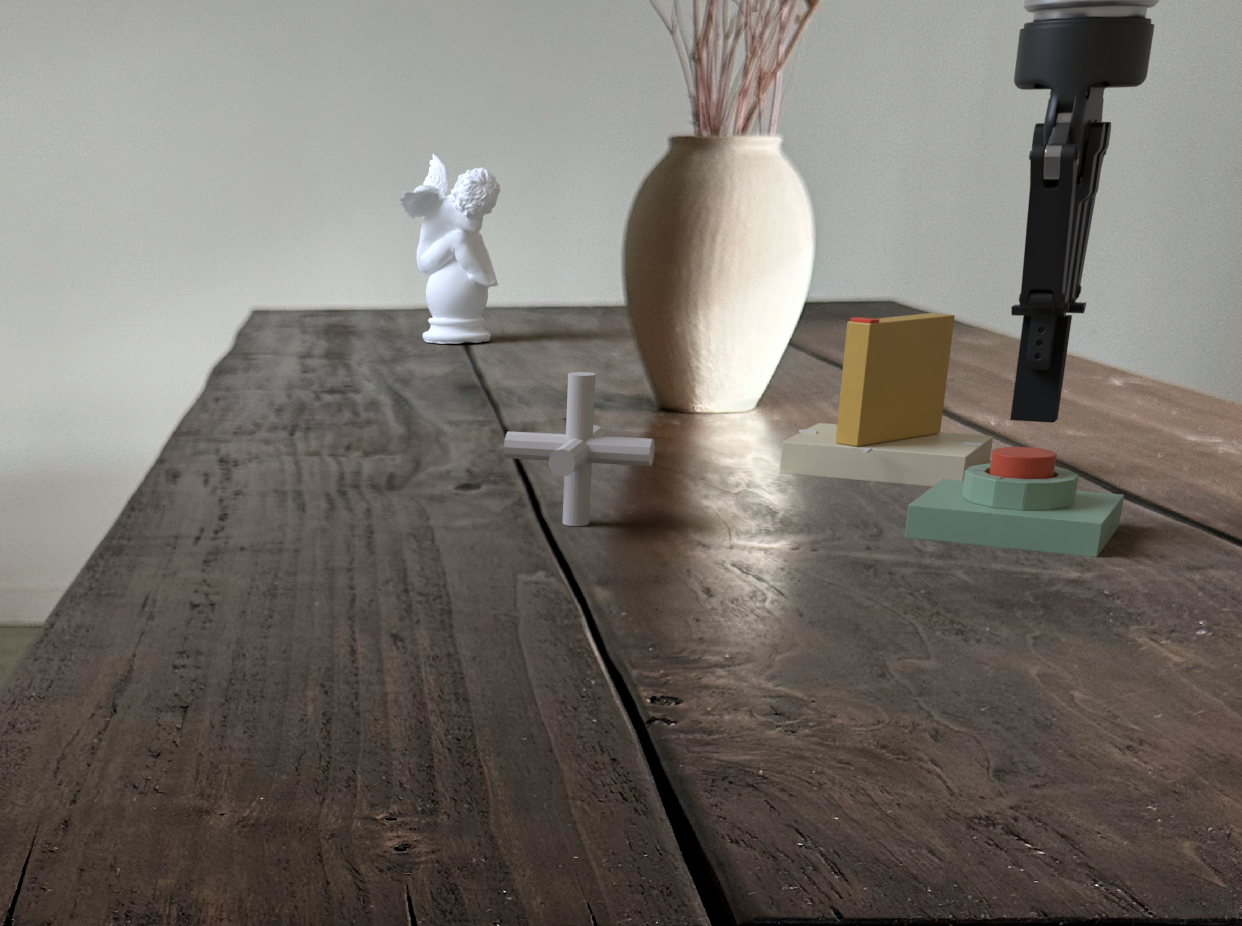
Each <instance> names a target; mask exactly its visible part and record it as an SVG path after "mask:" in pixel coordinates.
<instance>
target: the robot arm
mask: <svg viewBox="0 0 1242 926" xmlns="http://www.w3.org/2000/svg"><path fill="white" fill-rule="evenodd" d="M1159 2H1160V0H1024V1H1023V9H1024V10H1025V11H1026V12H1027V13H1033V15H1032V17H1033V18H1032V21H1029V22H1024V24H1023V28H1019V34H1018V41H1017V42H1018V43H1017V49H1016V50H1017V52H1016V59H1015V67H1014V68H1015V69H1014V77H1013V83H1014V85H1015V87H1016V88H1018V89H1020V90H1023V91H1024V90H1025V91H1026V90H1027V91H1031V90H1032V91H1035V90H1036V91H1037V90H1039V91H1040V90H1050V92H1049V94H1050V95H1049V99H1048V101H1047V107H1046V111H1045V117H1044V122H1036V123H1035V125H1034V129H1033V135H1032V142H1031V150H1030V151H1029V155H1028V159H1029V161H1030V163H1029V164H1030V165H1029V168H1030V170H1029V195H1028V205H1027V206H1028V207H1027V216H1026V217H1027V219H1026V228H1025V229H1026V230H1025V241H1024V250H1023V251H1024V254H1023V265H1022V277H1021V287H1020V293H1019V295H1018V302H1019V304H1014V305H1012V306H1011V309H1010V311H1011V312H1010V313H1011V316H1017V317H1018V316H1019V317H1020V316H1021V317H1023V318H1022V325H1021V333H1020V341H1019V349H1018V356H1017V363H1016V372H1015V379H1014V387H1013V394H1012V401H1011V403H1012V404H1011V411H1010V418H1009V421H1018V422H1019V421H1020V422H1035V423H1056V422H1057V421H1058V419H1059V412H1060V406H1061V400H1062V399H1061V398H1062V390H1063V383H1064V377H1065V369H1066V362H1067V354H1068V348H1069V342H1070V333H1071V326H1072V320H1073V319H1072V318H1073V314H1085V311H1086V307H1087V302H1081V301H1080V302H1078V301H1077V300H1078V299H1079V297H1080V295H1081V293H1082V285H1081V284H1082V279H1083V278H1082V277H1083V273H1084V266H1085V261H1086V255H1087V250H1088V244H1089V238H1090V232H1091V226H1092V221H1093V215H1094V209H1095V205H1096V198H1097V194H1098V191H1099V187H1100V179H1101V172H1102V167H1103V162H1104V159H1105V156H1106V155H1107V152H1108V149H1109V145H1110V140H1111V132H1112V122H1111V121H1103V110H1104V101H1105V99H1104V94H1105V89H1115V88H1118V89H1119V88H1136V87H1139V86H1141V85H1142V84H1143V83H1144V82H1145V81H1146V79H1147V76H1148V71H1149V64H1150V59H1151V53H1152V45H1153V38H1154V31H1155V23H1152V18H1149V17H1147V12H1148V9H1151V8H1154V7H1155V6H1156V5H1157V4H1158V3H1159Z"/></svg>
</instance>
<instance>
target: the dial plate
mask: <svg viewBox="0 0 1242 926" xmlns="http://www.w3.org/2000/svg"><path fill="white" fill-rule="evenodd" d="M836 431H837V424H835V423H824V422H823V423H822V422H818V423H815V424H814V425H812V426H810V427H808V428H806V429H798V433H796V434H795V435H793V436H790V437H789V438H787V439H785V440H783V441H782V442H781V451H780V452H781V453H780V464H779V474H782V475H783V474H784V475H795V476H807V477H818V478H828V479H838V478H840V479H839V480H850V481H851V480H852V481H862V482H872V483H873V482H874V483H885V484H895V485H905V486H906V485H907V486H919V487H930V488H931V487H933V486H934V485H935V484H937V483H938V482H939V481H940V480H942V479H948V480H960V481H964V475H965V470H967V469H968V468H969V467H970V466H974V465H981V464H988V463H991V456H992V448H993V440H994V436H993V435H983V434H972V433H971V434H970V433H956V432H944V431H943V432H942V431H940V433H937V434H931V435H925V436H919V437H913V438H906V439H900V440H894V441H888V442H882V443H876V444H869V445H863V446H852V445H846V444H840V443H836V442H835V441H836Z"/></svg>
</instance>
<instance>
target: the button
mask: <svg viewBox="0 0 1242 926" xmlns="http://www.w3.org/2000/svg"><path fill="white" fill-rule="evenodd" d="M1056 461H1057V453H1056V452H1055V451H1053V450H1050V449H1045V448H1039V447H1031V446H1030V447H1029V446H1004V447H997V448H994V449H992V450H991V456H990V463H991V465H990V472H989V474H990V475H995V476H1000V477H1005V478H1016V479H1048V478H1053V476H1054V469H1055V467H1056Z"/></svg>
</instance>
